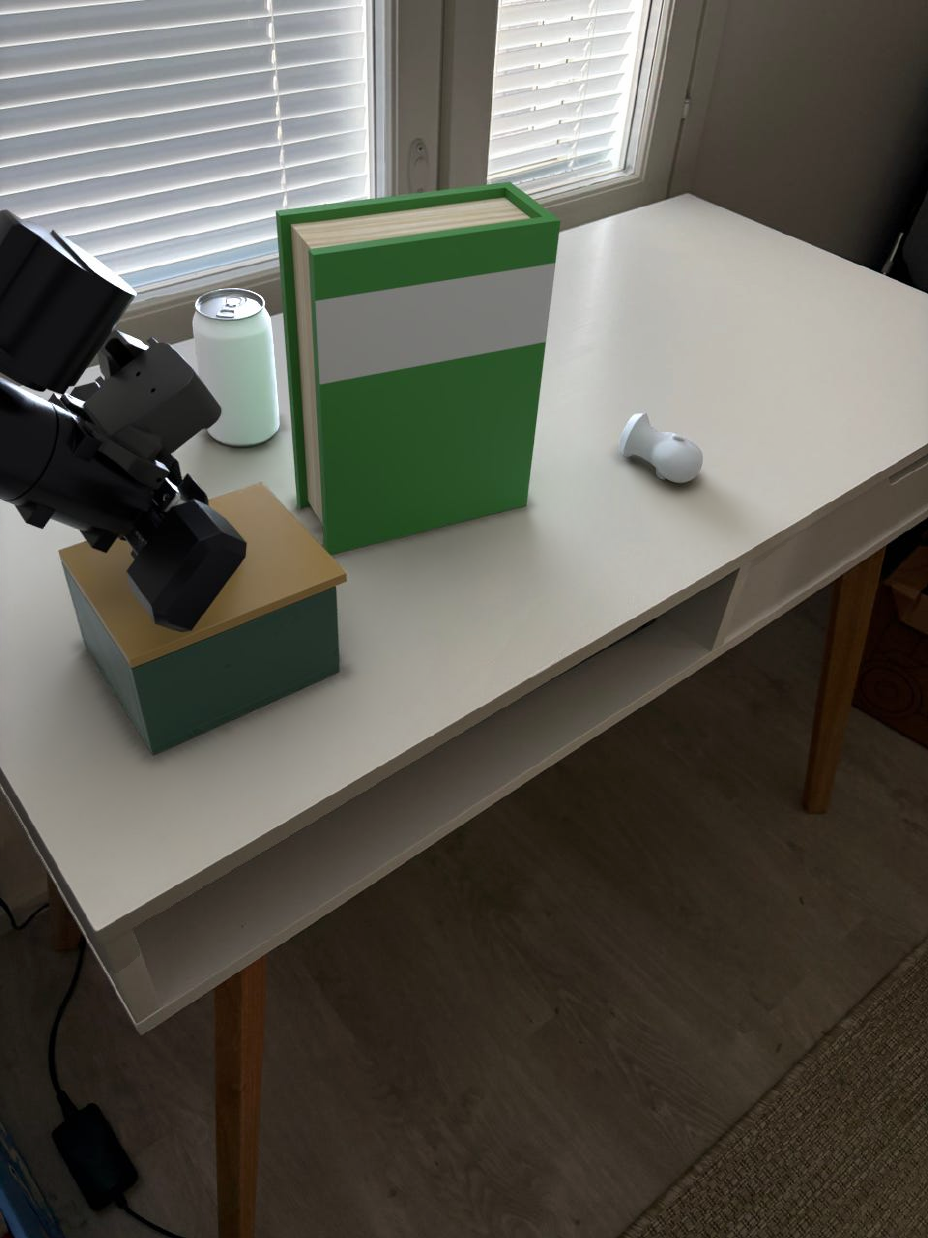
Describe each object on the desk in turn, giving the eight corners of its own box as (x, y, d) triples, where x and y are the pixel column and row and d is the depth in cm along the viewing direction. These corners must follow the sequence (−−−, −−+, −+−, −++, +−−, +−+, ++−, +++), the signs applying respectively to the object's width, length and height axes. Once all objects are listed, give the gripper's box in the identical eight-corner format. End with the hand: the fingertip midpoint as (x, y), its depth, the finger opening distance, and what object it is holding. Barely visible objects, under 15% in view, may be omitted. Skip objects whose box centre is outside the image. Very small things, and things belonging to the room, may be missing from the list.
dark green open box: (261, 578, 76) (252, 494, 71) (340, 671, 70) (336, 586, 64) (84, 646, 70) (60, 560, 65) (152, 756, 63) (131, 669, 58)
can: (287, 413, 93) (278, 289, 85) (270, 452, 88) (258, 325, 80) (218, 406, 93) (202, 282, 85) (197, 444, 89) (178, 317, 81)
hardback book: (327, 555, 79) (313, 254, 62) (296, 502, 83) (275, 210, 67) (526, 505, 85) (560, 219, 69) (486, 458, 90) (510, 181, 73)
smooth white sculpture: (703, 491, 90) (670, 496, 86) (639, 448, 94) (605, 450, 91) (725, 448, 88) (691, 451, 84) (658, 405, 92) (623, 406, 88)
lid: (262, 490, 71) (261, 481, 71) (347, 581, 65) (347, 572, 64) (60, 559, 65) (57, 549, 64) (131, 669, 58) (129, 659, 58)
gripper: (187, 405, 46) (390, 520, 59) (45, 253, 57) (243, 378, 69) (53, 596, 48) (279, 668, 60) (-60, 414, 58) (152, 507, 71)
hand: (237, 544), depth 65 cm, fingers closed, pressing on lid
